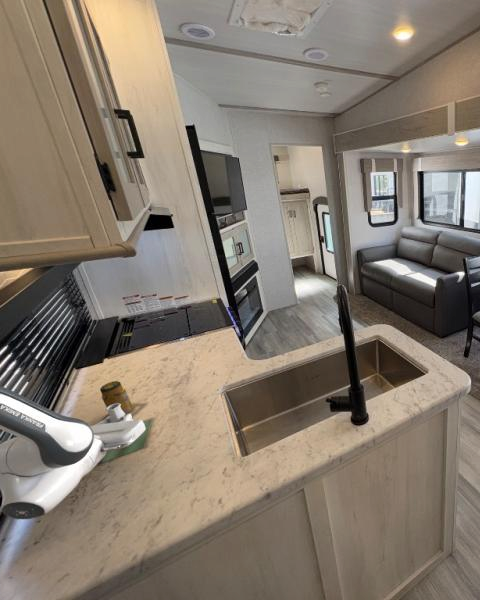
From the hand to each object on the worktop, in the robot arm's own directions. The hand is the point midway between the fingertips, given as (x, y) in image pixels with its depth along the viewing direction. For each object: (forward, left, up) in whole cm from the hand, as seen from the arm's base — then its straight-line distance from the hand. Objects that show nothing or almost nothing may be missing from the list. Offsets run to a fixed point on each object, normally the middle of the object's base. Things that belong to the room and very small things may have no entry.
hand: (120, 416), depth 94 cm
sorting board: (-5, -1, -9) cm, 10 cm away
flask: (0, -1, -6) cm, 6 cm away
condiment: (-4, +16, -9) cm, 19 cm away
